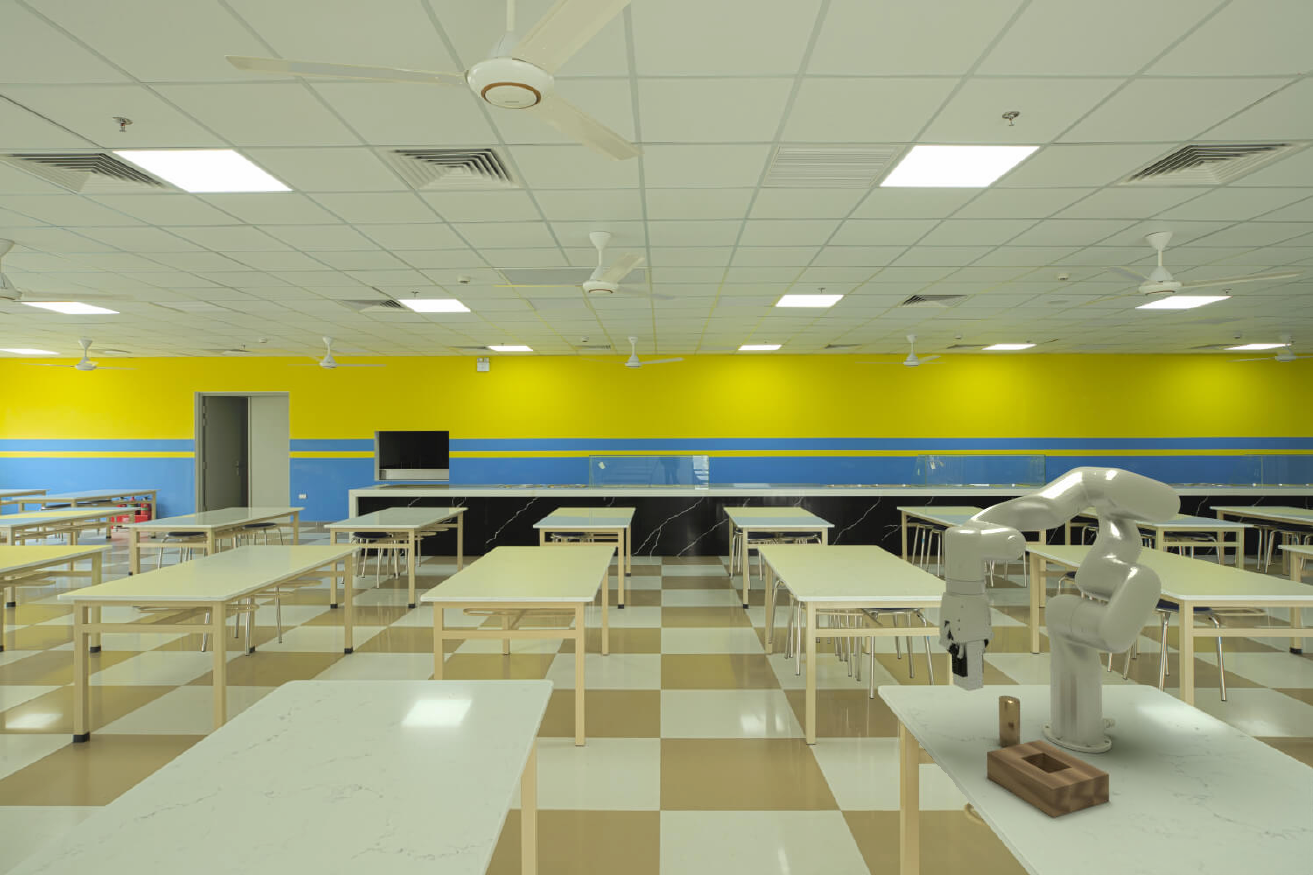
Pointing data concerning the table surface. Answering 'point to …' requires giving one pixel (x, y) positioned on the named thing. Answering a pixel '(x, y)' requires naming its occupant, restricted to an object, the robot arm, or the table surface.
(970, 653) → the square peg
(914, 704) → the table surface
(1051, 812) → the socket block
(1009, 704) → the round peg
